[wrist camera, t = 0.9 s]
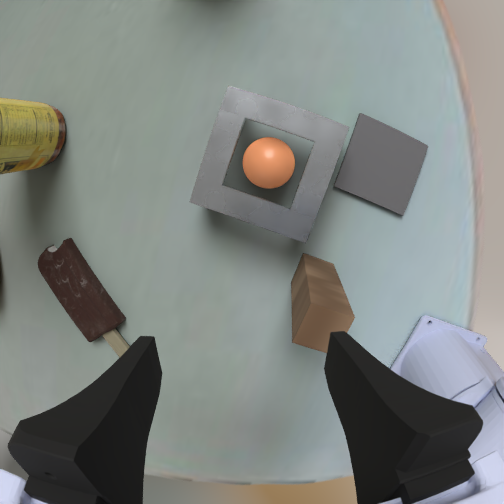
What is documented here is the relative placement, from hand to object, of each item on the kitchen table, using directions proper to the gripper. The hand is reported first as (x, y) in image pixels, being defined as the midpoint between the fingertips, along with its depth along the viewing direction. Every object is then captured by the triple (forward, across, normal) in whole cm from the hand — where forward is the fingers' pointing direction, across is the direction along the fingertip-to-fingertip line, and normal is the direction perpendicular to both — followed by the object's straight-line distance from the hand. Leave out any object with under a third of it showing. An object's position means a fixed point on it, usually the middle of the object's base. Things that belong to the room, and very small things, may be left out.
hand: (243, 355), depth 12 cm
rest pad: (+12, -11, -6) cm, 18 cm away
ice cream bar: (+16, +14, +7) cm, 23 cm away
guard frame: (+14, -2, -6) cm, 15 cm away
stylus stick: (+12, -6, +2) cm, 14 cm away
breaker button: (+14, -2, -6) cm, 15 cm away
